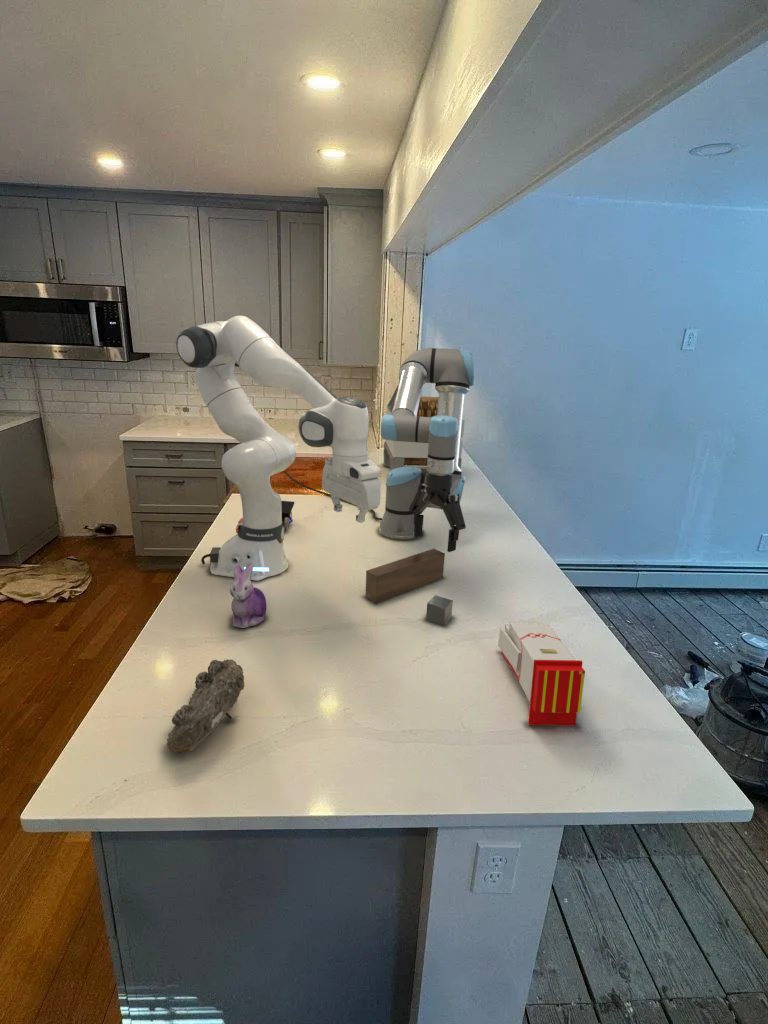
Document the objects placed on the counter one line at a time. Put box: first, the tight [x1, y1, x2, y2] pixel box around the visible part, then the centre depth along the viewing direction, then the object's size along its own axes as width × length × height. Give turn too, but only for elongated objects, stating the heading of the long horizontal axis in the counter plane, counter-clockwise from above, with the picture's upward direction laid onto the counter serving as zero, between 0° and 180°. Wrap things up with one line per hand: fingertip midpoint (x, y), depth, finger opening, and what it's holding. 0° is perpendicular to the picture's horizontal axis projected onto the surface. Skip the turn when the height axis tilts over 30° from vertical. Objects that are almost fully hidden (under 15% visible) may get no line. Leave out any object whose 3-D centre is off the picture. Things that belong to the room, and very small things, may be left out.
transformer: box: [383, 384, 465, 472], centre depth 268 cm, size 34×33×41 cm
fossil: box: [166, 658, 245, 754], centre depth 106 cm, size 22×10×15 cm
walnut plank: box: [365, 548, 446, 604], centre depth 161 cm, size 4×26×8 cm, turn 131°
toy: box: [497, 621, 586, 727], centre depth 121 cm, size 12×13×30 cm
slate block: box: [425, 594, 454, 626], centre depth 145 cm, size 5×5×5 cm
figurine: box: [229, 563, 268, 629], centre depth 139 cm, size 9×10×15 cm
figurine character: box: [281, 500, 295, 533], centre depth 201 cm, size 7×8×15 cm
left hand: (348, 516), depth 145 cm, fingers open, 8 cm apart
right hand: (434, 543), depth 164 cm, fingers open, 13 cm apart
